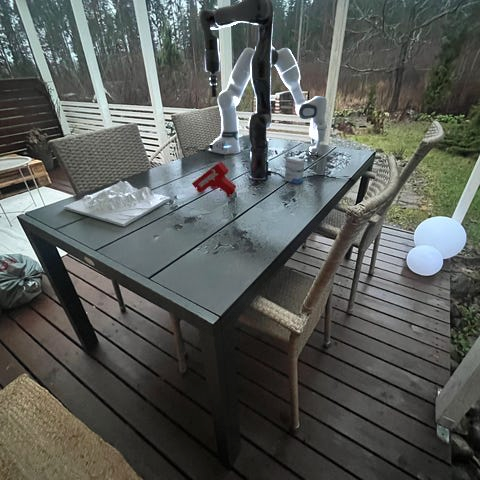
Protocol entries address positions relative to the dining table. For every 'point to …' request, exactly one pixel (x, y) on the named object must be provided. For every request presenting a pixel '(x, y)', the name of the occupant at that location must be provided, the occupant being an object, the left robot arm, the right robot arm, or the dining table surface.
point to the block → (313, 150)
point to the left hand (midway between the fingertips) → (314, 146)
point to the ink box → (294, 170)
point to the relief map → (118, 203)
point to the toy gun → (215, 180)
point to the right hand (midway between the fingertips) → (214, 96)
